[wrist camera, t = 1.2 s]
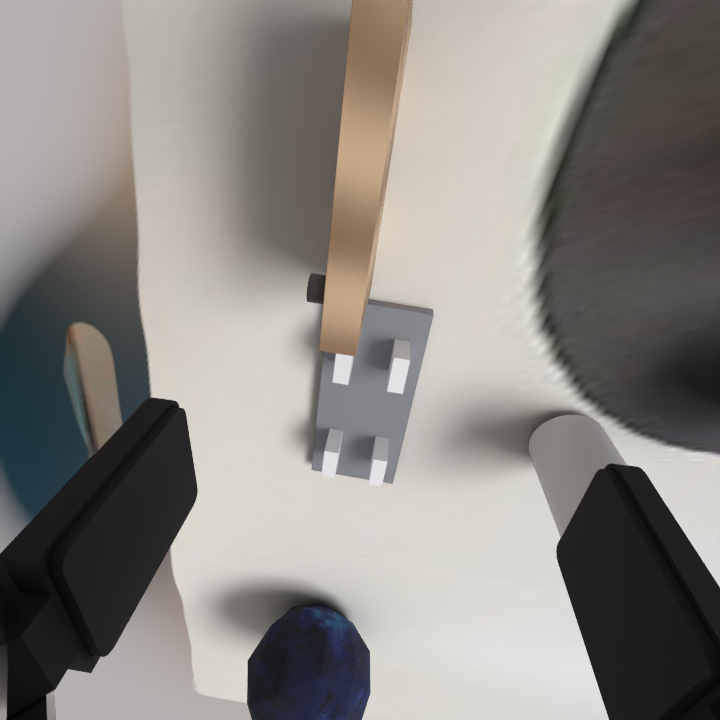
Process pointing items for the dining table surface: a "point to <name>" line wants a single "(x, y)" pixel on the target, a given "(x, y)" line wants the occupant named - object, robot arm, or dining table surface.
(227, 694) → the dining table surface
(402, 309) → the hinge base
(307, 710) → the decorative orb
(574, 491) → the beverage can
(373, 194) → the door panel
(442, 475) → the dining table surface
